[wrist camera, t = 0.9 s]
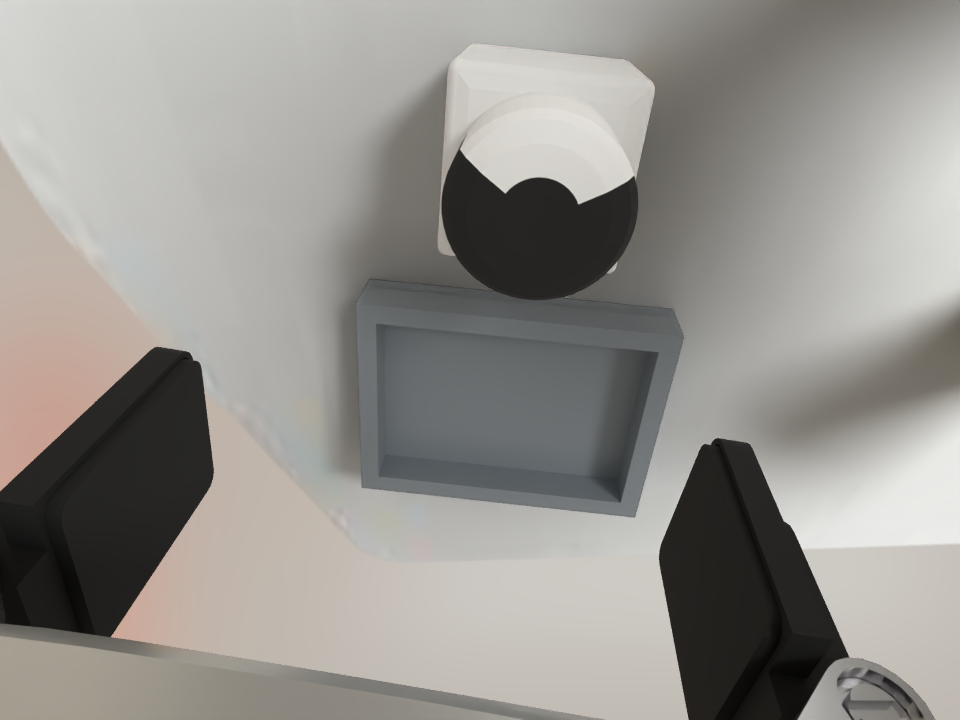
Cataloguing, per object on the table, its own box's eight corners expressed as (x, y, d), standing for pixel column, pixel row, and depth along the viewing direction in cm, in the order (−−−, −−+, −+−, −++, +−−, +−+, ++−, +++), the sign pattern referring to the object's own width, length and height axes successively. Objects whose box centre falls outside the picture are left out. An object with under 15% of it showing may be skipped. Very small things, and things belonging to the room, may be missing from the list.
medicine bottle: (600, 219, 31) (631, 337, 21) (455, 203, 31) (414, 311, 21) (632, 59, 27) (689, 106, 17) (467, 41, 27) (425, 76, 17)
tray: (672, 309, 33) (684, 336, 30) (628, 482, 39) (634, 517, 37) (369, 279, 33) (355, 303, 31) (373, 454, 40) (361, 487, 37)
